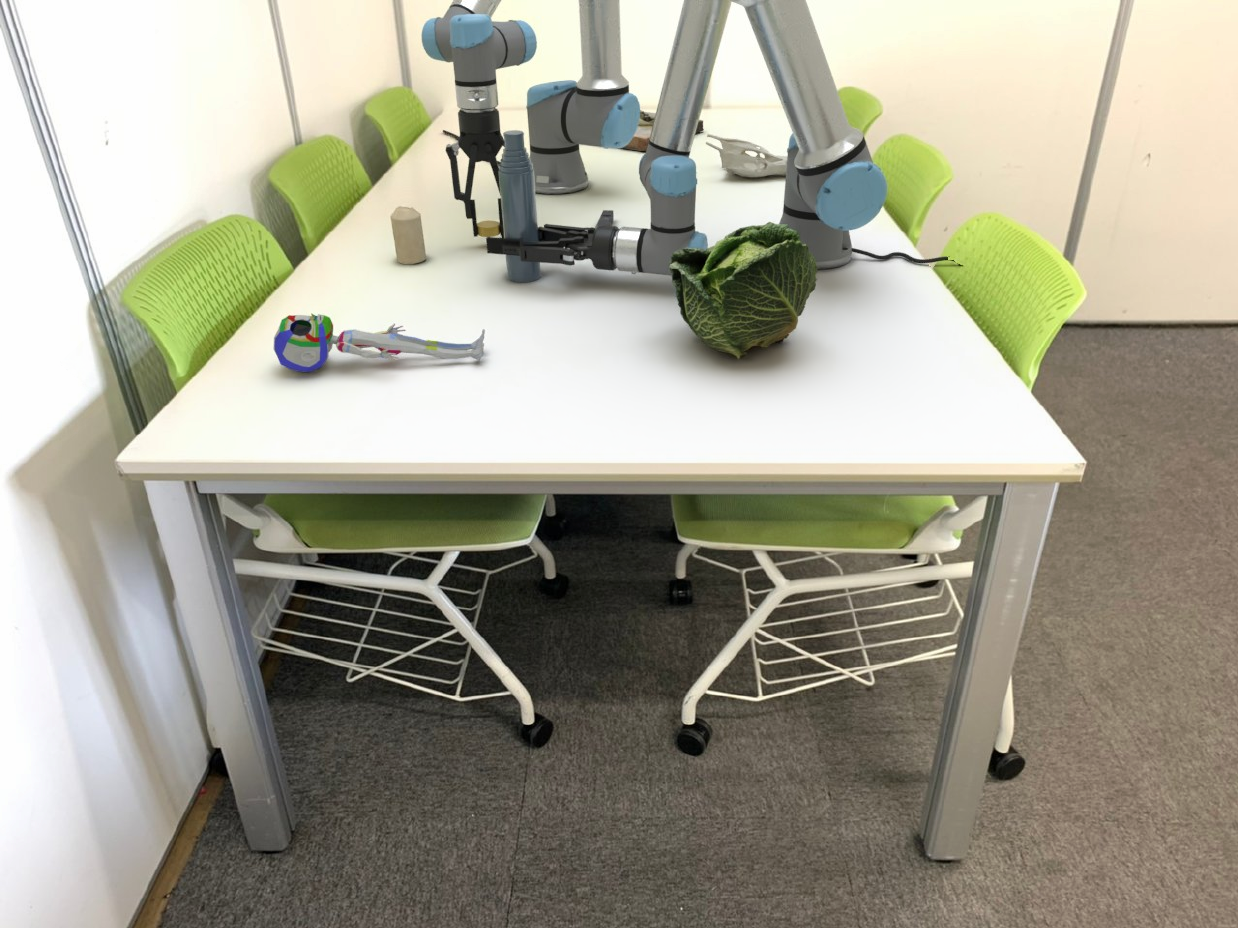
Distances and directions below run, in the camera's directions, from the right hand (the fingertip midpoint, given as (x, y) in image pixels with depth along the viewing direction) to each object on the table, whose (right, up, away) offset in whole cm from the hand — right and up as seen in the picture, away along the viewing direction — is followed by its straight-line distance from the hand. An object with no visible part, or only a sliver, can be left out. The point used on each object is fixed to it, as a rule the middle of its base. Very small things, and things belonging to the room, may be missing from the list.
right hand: (495, 239), depth 162 cm
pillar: (+19, +6, +21) cm, 29 cm away
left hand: (-3, +5, +15) cm, 16 cm away
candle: (-18, -1, +10) cm, 20 cm away
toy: (-13, -26, -28) cm, 40 cm away
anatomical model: (+56, +31, +59) cm, 87 cm away
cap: (-3, +6, +14) cm, 16 cm away
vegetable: (+41, -22, -24) cm, 53 cm away
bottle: (+5, -6, +2) cm, 8 cm away
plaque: (+27, +54, +97) cm, 115 cm away
